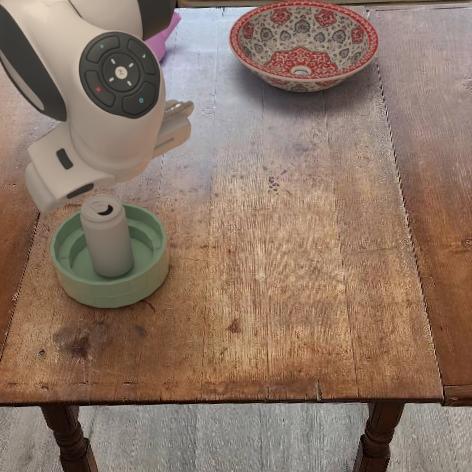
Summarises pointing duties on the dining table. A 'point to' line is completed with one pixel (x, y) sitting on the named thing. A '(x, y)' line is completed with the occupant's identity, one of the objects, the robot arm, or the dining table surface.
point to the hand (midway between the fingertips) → (109, 176)
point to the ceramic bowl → (303, 43)
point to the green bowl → (121, 287)
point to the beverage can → (107, 235)
